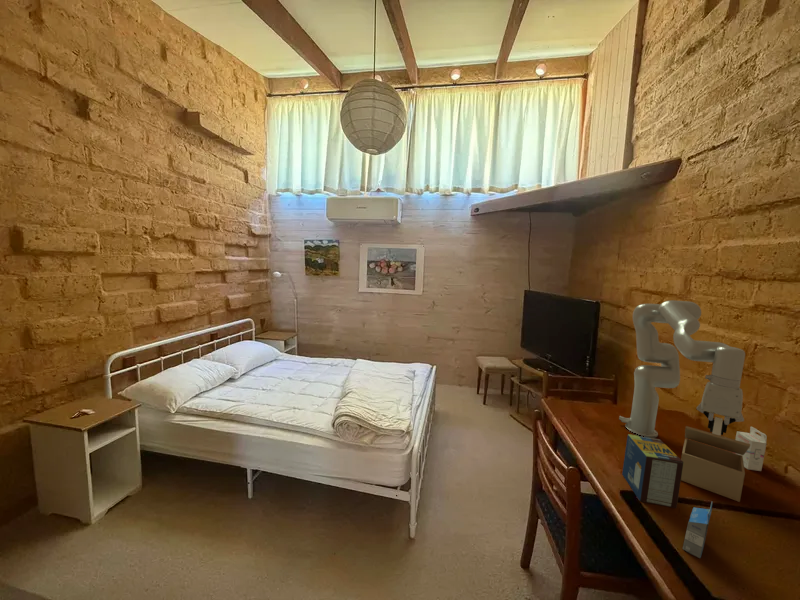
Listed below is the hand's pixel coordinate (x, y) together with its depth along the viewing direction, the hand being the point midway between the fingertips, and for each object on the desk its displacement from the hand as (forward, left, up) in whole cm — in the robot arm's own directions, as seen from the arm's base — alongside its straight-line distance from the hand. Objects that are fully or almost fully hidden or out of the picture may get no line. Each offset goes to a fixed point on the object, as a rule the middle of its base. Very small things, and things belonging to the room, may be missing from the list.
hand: (716, 432), depth 122 cm
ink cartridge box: (+11, +30, -19) cm, 37 cm away
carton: (0, +2, -19) cm, 19 cm away
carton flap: (0, +2, -4) cm, 5 cm away
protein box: (-15, -23, -19) cm, 34 cm away
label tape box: (-2, -43, -19) cm, 48 cm away
